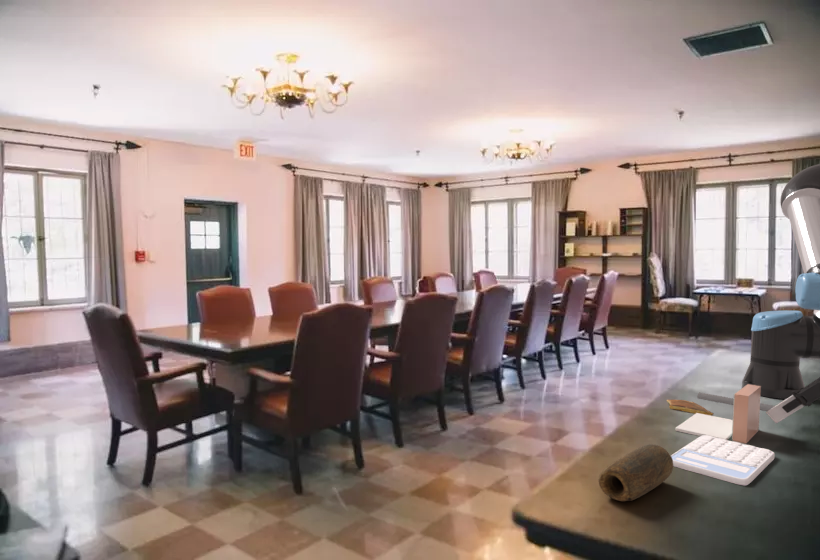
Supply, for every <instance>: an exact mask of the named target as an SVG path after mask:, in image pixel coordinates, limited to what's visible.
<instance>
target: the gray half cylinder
mask: <svg viewBox="0 0 820 560" xmlns="http://www.w3.org/2000/svg"><path fill="white" fill-rule="evenodd" d="M696 397H697V399H698V400H703V401H710V402H715V403H720V404H726V405H731V406H733V402H734V397H728V396H722V395H715V394H710V393H706V392H698V393H697V395H696ZM775 406H776V405H773V404H768V403H762V402H760V411H763V412H767V411H768V410H770V409H771V408H773V407H775Z"/></svg>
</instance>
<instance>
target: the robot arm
mask: <svg viewBox="0 0 820 560" xmlns="http://www.w3.org/2000/svg"><path fill="white" fill-rule="evenodd" d="M780 195H781V196H780V202H779V203H780V208H781V212H782V213H783V215H784V217H786V218H787V219H788V220H789V222H790V226H791V231H792V234H793V238H794V242H795V245H796V248H797V252H798V256H799V260H800V264H801V267H802V271H803V273H801V274H799V275H798V277H797V279H796V282H795V290H794V291H795V301H796V304H797V305H798V307H800V308H801V309H805V310H813V314H812V316H809V315H808V316H807V315H804V314H803V312H802V311H801V310H795V309H794V310H789V309H788V310H786V309H785V310H769V311H760V312H757V313H755V315H754V316H753V318H752V323H751V329H750V331H751V341H750V344H751V346H750V357H749V358H750V361H749V365H748V368H747V370H746V371H745V374H744V376H743V378H742V381H741V389H742V388H743V387H745V386H746V385H747V384H750V385H757V386H761V393H760V397H766V398H774V399H784V400H783V401H781V402H779V403H778V404H776V405H774V406H775V407H773V408H771V409H770V410H768V411H765V413H766V415H768V417H769V418H770V419H771V420H772V421H773V422H774V423H775V424H778V423H780V422H781V421H783V420H784V419H786V418H788V417H790V416H791V415H792V414H795V413H796V412H797V411H799V410H801V409H803V408H804V407H811V406H812V403H813V402H815V401H817V400H819V399H820V376H819V377H817V378H816V379H815V380H813V381H812V382H810V383H808V384H806V385H805V382H804V379H803V375H802V373H801V369H800V363H801V362H800V361H801V359H811V360H820V163H818V164H814V165H812V166H808V167H806V168H805V169H802V170H800V171H799V172H797V173H796V174H795V175H793V176H792V178H790V180H789V181H788V182H787V183H786V185H785V186H784V188H783V190H782V191H781V194H780Z"/></svg>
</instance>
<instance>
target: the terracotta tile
mask: <svg viewBox="0 0 820 560" xmlns="http://www.w3.org/2000/svg"><path fill="white" fill-rule="evenodd" d="M760 393H761V386H757V385H750V384H747V385H746V386H745V387H743V388H742V387H741V389H739V390H738V391H737V392H735V393H734V394H733V398H734V402H733V405H732V406H733V407H732V408H733V409H732V420H733V424H732V436H731V440H732V442H738V443H741V444H745V445H747V443H749V442H750V440H752V438H753V437H754V436H756V434H758V432H759V430H760V413H761V412H760V411H761V410H760V403H761V396H760Z"/></svg>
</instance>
